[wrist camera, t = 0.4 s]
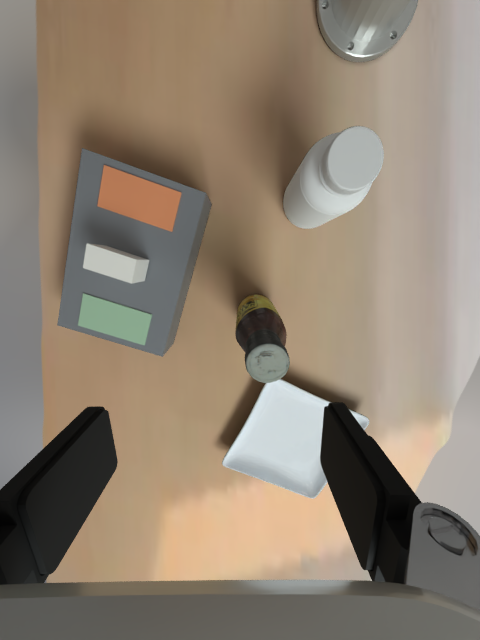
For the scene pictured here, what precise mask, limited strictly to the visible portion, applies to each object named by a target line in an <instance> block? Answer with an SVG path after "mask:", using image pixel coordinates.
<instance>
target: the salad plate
mask: <svg viewBox="0 0 480 640" xmlns="http://www.w3.org/2000/svg"><path fill="white" fill-rule="evenodd" d="M329 403H332V402H330V401H327V400H325V399H322V398H320V397H318V396H315V395H313V394H311V393H309V392H307V391H305V390H303V389H301V388H298V387H297V386H295V385H293V384H291V383H289V382H287V381H284V380H282V379H279V380H277V381H275V382H271V383H265V385H264V387H263V389H262V391H261V393H260V395H259V397H258V399H257V401H256V403H255V405H254V407H253V409H252V411H251V413H250V415H249V417H248V418H247V420H246V422H245V424H244V426H243V427H242V429H241V431H240V433H239V434H238V436H237V437H236V439H235V441H234V442H233V444H232V445H231V447H230V449H229V450H228V452H227V453H226V455H225V457H224V459H223V461H222V464H223V465H224V466H225V467H227V468H230V469H233V470H235V471H238V472H241V473H244V474H247V475H249V476H252V477H255V478H258V479H260V480H263V481H266V482H269V483H271V484H274V485H277V486H279V487H282V488H285V489H287V490H290V491H292V492H295V493H297V494H300V495H303V496H305V497H308V498H315V497H317V495H318V494H319V493H320V492H321V490H322V489H323V488H324V486H325V485H326V484H327V479H326V477H325V474H324V472H323V469H322V466H321V462H320V452H321V440H322V428H323V416H324V407H325V406H328V404H329ZM350 412H351V413H352V415H353V416H354V417H355V419H356V420H357V421H358V423H359V424H360V425H361V427H362V428H363V430H365V429H366V427H367V426H368V424H369V419H368V418H367V417H366V416H364V415H362V414H360V413H357V412H355V411H352V410H350Z"/></svg>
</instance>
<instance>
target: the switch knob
mask: <svg viewBox="0 0 480 640" xmlns="http://www.w3.org/2000/svg"><path fill="white" fill-rule="evenodd" d="M148 264H149V260H148V259H145V258H142V257H139V256H136V255H133V254H130V253H127V252H124V251H121V250H118V249H115V248H112V247H109V246H105V245H97V244H89V243H87V244H86V251H85V257H84V264H83V268H84V269H88V270H91V271H94V272H97V273H100V274H103V275H106V276H109V277H113V278H116V279H119V280H122V281H125V282H128V283H131V284H132V283H137V282H142V281H145V278H146V273H147V269H148Z"/></svg>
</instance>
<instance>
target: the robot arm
mask: <svg viewBox="0 0 480 640" xmlns="http://www.w3.org/2000/svg"><path fill="white" fill-rule="evenodd" d="M417 3H418V0H317V18H318V24H319V27H320V30H321V34H322V36H323V37H324V39H325V41H326V43H327V44H328V46H329V47H330V48H331V50H332V51H334V52H335V53H336V54H337V55H338V56H340V57H342V58H344V59H346V60H349V61H353V62H366V61H370V60H374V59H376V58H378V57H380V56H382V55H383V54H385V53H386V52H387V51H389V50H390V49H391V48H392V47H393V46H394V45H395V44H396V43H397V42H398V40H399V39H400V38H401V36H402V35H403V33H404V32H405V31H406V29H407V27H408V26H409V24H410V22H411V20H412V18H413V15H414V13H415V10H416V7H417ZM320 462H321V466H322V469H323V472H324V474H325V477H326V479H327V482H328V484H329V487H330V489H331V492H332V494H333V497H334V499H335V502H336V504H337V507H338V510H339V512H340V515H341V517H342V520H343V522H344V525H345V527H346V530H347V532H348V535H349V537H350V540H351V542H352V545H353V547H354V550H355V552H356V555H357V557H358V560H359V562H360V565H361V567H362V568H363V569H364V570H368V572H369V574H370V577H371V579H372V581H355V580H206V581H130V582H77V583H44V582H45V580H46V579H47V577H48V575H49V574H51V573H53V572H54V571H55V570H56V568H57V567H58V565H59V564H60V562H61V560H62V559H63V557H64V555H65V554H66V552H67V550H68V549H69V547H70V545H71V544H72V542H73V540H74V538H75V537H76V535H77V533H78V532H79V530H80V528H81V527H82V525H83V523H84V522H85V520H86V518H87V517H88V515H89V513H90V512H91V510H92V508H93V507H94V505H95V503H96V502H97V500H98V498H99V497H100V495H101V493H102V492H103V490H104V488H105V487H106V485H107V483H108V482H109V480H110V478H111V477H112V475H113V473H114V472H115V470H116V467H117V456H116V450H115V445H114V440H113V434H112V429H111V424H110V418H109V413H108V411H107V410H105V409H104V407H87V408H86V409H85V410H84V411H82V412H81V413H80V414H79V415H78V416H77V417H76V418H75V419H74V420H73V421H72V422H71V423H70V424H69V425H68V426H67V427H66V428H65V429H64V430H63V431H61V432H60V433H59V434H58V435H57V436H56V437H55V438H54V439H53V440H52V441H51V442H50V443H49V444H48V445H47V446H46V447H45V448H44V449H43V450H42V451H41V452H40V453H38V454H37V455H36V456H35V457H34V458H33V459H32V460H31V461H30V462H29V463H28V464H27V465H26V466H25V467H24V468H23V469H22V470H21V471H19V472H18V473H17V474H16V475H15V476H14V477H13V478H12V479H11V480H10V481H9V482H8V483H7V484H6V485H5V486H4V487H3V488H2V489H1V490H0V640H480V536H479V535H478V533H477V532H476V531H475V530H474V529H473V528H472V526H470V524H469V523H468V522H466V521H465V520H464V519H462V518H461V517H460V516H459V515H458V514H456V513H454V512H452V511H451V510H449V509H447V508H445V507H443V506H440V505H438V504H433V503H428V502H427V503H421V501H420V500H419V499H418V497H417V496H416V495H415V493H414V492H413V491H412V489H411V488H410V487H409V485H408V484H407V483H406V481H405V480H404V479H403V477H402V476H401V475H400V473H399V472H398V471H397V469H396V468H395V467H394V465H393V464H392V463H391V461H390V460H389V459H388V457H387V456H386V455H385V453H384V452H383V451H382V449H381V448H380V447H379V445H378V444H377V443H376V441H375V440H374V439H373V438H372V437H371V436H368V435H367V434H366V432H365V431H364V430H363V428H362V427H361V425H360V424H359V423H358V421H357V420H356V419H355V417H354V416H353V415H352V413H351V412H350V410H349V409H348V408H347V406H346V405H345V404H344V403H342V402H341V403H329V404H328V406H325V407H324V416H323V428H322V440H321V452H320Z"/></svg>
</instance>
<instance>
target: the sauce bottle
mask: <svg viewBox="0 0 480 640" xmlns="http://www.w3.org/2000/svg"><path fill="white" fill-rule="evenodd" d="M236 339H237V342H238V343H239V345H240V346H241V347H242V349H243V350H244V351H245V353H246V354H245V364H246V369H247V371H248V373H249V374H250V376H251V377H252V378H254V379H255V380H257V381H259V382H263V383H271V382H275V381H277V380H279V379H281V378H282V377H283V376H284V375H285V374H286V372H287V370H288V368H289V364H290V361H289V356H288V353H287V350H286V348H285V347H284V346H285V343H286V329H285V327H284V324H283V322H282V319H281V318H280V316H279V314H278V312H277V311H276V309H275V307H274V306H273V304H272V302H271V301H270V300H269V299H268V298H266V297H265V296H263V295H259V294H254V295H249V296H248V297H246V298H245V299H244V300H243V301H242V302H241V303H240V305H239V307H238V311H237V321H236Z"/></svg>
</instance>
